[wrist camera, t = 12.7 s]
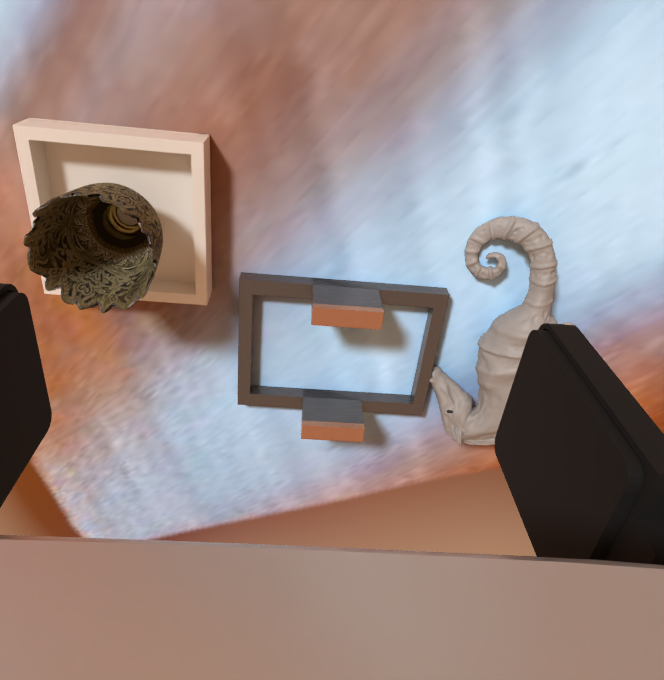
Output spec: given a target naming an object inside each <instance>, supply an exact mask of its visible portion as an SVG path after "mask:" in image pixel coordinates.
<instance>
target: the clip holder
mask: <svg viewBox="0 0 664 680" xmlns="http://www.w3.org/2000/svg"><path fill="white" fill-rule="evenodd" d="M254 295H266V296H279V297H293V298H306V299H312V320H311V325H322V326H336V327H350V328H364V329H379V330H381V329H382V323H383V317H384V309H383V307H382V304H388V305H401V306H415V307H428V308H429V312H428V317H427V322H426V326H425V331H424V336H423V340H422V345H421V350H420V354H419V359H418V364H417V369H416V373H415V378H414V383H413V387H412V392H411V395H397V394H381V393H365V392H349V391H332V390H316V389H300V388H284V387H267V386H251V375H252V338H253V301H254ZM448 299H449V293H448V291H447V289H446V288H438V287H425V286H412V285H399V284H386V283H372V282H359V281H346V280H333V279H320V278H307V277H294V276H281V275H268V274H255V273H242V272H241V275H240V278H239V346H238V404H239V405H256V406H273V407H290V408H302V429H301V439H315V440H334V441H352V442H363V437H364V431H365V425H364V419H363V412H375V413H392V414H409V415H422V412H423V408H424V403H425V399H426V395H427V390H428V386H429V382H430V377H431V373H432V369H433V364H434V360H435V356H436V351H437V347H438V343H439V338H440V334H441V330H442V325H443V321H444V317H445V312H446V308H447V304H448Z"/></svg>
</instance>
